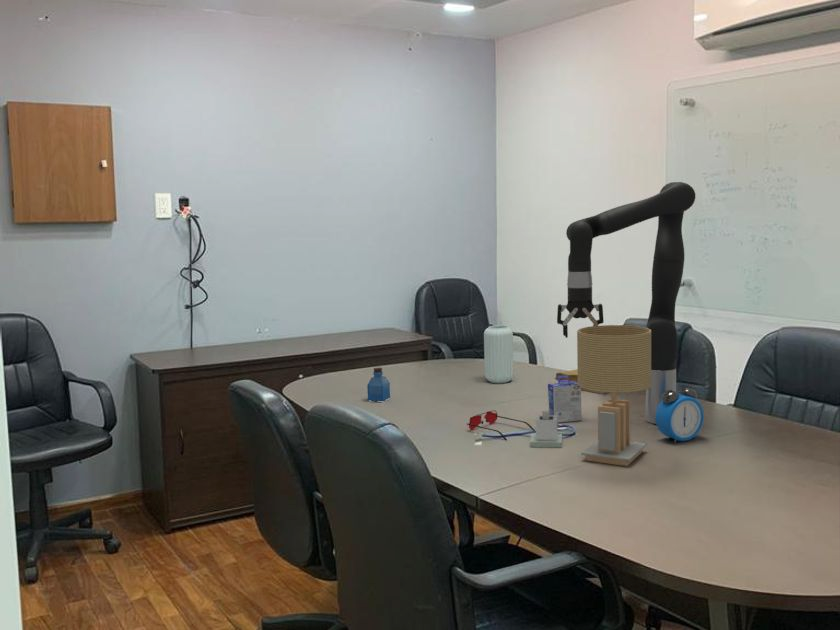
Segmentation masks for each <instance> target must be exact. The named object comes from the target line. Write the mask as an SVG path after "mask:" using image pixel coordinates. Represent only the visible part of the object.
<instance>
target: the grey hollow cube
mask: <svg viewBox="0 0 840 630" xmlns="http://www.w3.org/2000/svg"><path fill="white" fill-rule="evenodd" d="M535 433H536V441H557V434H558V423H557V415H549V420H543V418H542V414H541V415H538V414H537V415H536V417H535Z"/></svg>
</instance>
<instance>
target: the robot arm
mask: <svg viewBox="0 0 840 630" xmlns="http://www.w3.org/2000/svg"><path fill="white" fill-rule="evenodd" d="M695 200H696V192H695V189H694V187H692V186H691V185H690V184H688V183H686V182H682V181H675V182H674V181H672V182H668V183H667V184H665V185H663V187H662V188H661V189H660V191H659V192H658V193H657V194H655V195H653V196H650V197H647V198H644V199H641V200H638V201H634V202H631V203H626V204H623V205H619V206H615V207H613V208H609V209H607V210H605V211H603V212H600V213H598V214H596V215H593V216H590V217H586V218H582V219H579V220H578V219H577V220H576V221H573V222H571V223H570V224H569V225H568V227H567V229H566V232H565V233H566V234H565V235H566V238H567V240H568V241H569V254H568V257H567V258H568V259H567V269H568V270H567V271H568V272H567V283H566V284H567V285H566V286H567V303H566V304H561V303H560V304H558V305H557V317H556V323H557V325H561V326H562V334H563V336H564V337H565V338H566V339H567V338H568V337H569V336H568V335H569V334H568V332H569V331H568V329H569V328H568V326H569V325H568V323H570V321H571V320H572V319H573V318H574V319H586V318H588V319H589V321H590V322H591V323H592V326H600V324H603V323H604V310H603V309H604V307H603V304H602V303H598V304H594V303H593V275H592V257H591V256H592V248H593V239H594V238H598V237H600V236H605V235H610V234H613V233H615V232H618V231H621V230H623V229H626V228H629V227H632V226H634V225H636V224H640V223H642V222H645V221H648V220H650V219H653V218H658V222H657V223H658V224H657V231H656V233H657V234H656V238H655V243H654V244H655V246H654V253H653V261H652V269H651V270H652V271H651V304H650V310H649V314H648V320H647V323H646V325H645V326H646V327H645V328H648V329H650V330H651V386H650V388H648V389H646V390H645V421H646V422H647V423H651V424H655V425H657V424H656V411H657V408H658V406H659V404H660V402H661V401H662V395H663V393H665V392H666V391H668V390H674V391H676V392H677V359H678V331H677V327H676V324H675V323H676V321H675V319H676V302H677V297H678V295H679V292H680V288H681V283H682V281H683V280H682V279H683V275H684V265H685V247H684V245H685V244H684V239H683V234H682V231H683V230H682V229H683V227H682V226H683V220H684V214H685V212H686V211H688V210H689V209H690V208H691V207H692V206H693V205H694V203H695ZM594 309H595V311H596V312H598V319H597V320H596V318H595V317H594V315H593V314H592V312H593V310H594ZM565 310H567V311H568V314H567V316H566V317H565V319H564V320H563V319H562V312H565Z"/></svg>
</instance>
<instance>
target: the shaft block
mask: <svg viewBox="0 0 840 630" xmlns="http://www.w3.org/2000/svg"><path fill="white" fill-rule="evenodd" d="M541 415H542V418H543V420H549V410H542V413H541ZM562 434H563V433H557V441H536V432H535V433H531V435H530V439H529V442H530V443H529V444H530V445H529V447H530V448H559V449H560V448H563V441H562V440H563V439H562V438H563V435H562Z"/></svg>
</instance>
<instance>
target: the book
mask: <svg viewBox="0 0 840 630" xmlns="http://www.w3.org/2000/svg"><path fill="white" fill-rule="evenodd" d="M564 375H568V378H569V382H570V381H576V382H578V368H575V369H571V370H564V371H559V372H556V374H555V377H554V380H555V381H557V382H558V376H564ZM560 380H567V378H564V377H563V378H560ZM581 392H586V393H590V394H596V395H599V396H600V395H601V396H607V395H612V393H604V392H596V391H590V390H586V389H583V388H581Z"/></svg>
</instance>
